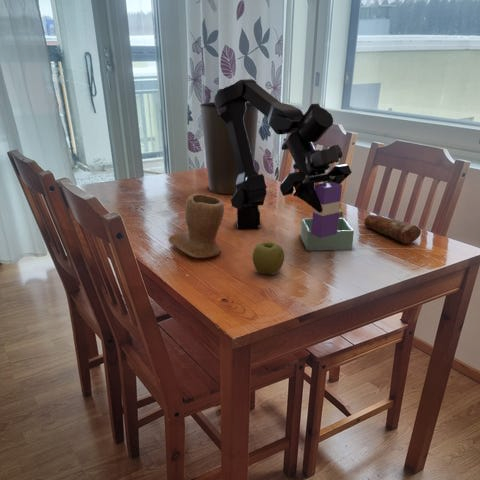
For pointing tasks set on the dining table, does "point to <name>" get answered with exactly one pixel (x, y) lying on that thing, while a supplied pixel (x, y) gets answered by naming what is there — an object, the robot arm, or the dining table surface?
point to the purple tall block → (327, 209)
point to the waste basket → (224, 147)
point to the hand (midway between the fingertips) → (330, 209)
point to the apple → (268, 257)
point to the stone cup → (200, 227)
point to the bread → (393, 228)
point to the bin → (330, 242)
